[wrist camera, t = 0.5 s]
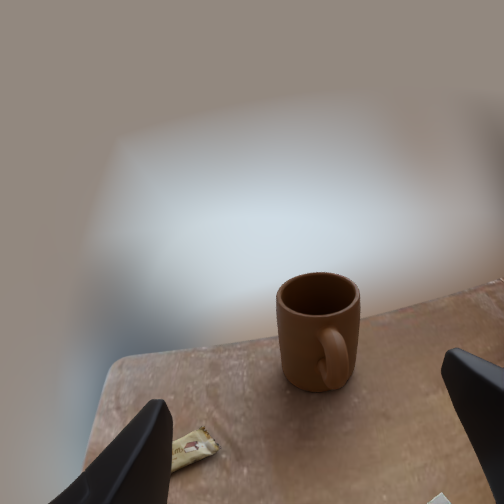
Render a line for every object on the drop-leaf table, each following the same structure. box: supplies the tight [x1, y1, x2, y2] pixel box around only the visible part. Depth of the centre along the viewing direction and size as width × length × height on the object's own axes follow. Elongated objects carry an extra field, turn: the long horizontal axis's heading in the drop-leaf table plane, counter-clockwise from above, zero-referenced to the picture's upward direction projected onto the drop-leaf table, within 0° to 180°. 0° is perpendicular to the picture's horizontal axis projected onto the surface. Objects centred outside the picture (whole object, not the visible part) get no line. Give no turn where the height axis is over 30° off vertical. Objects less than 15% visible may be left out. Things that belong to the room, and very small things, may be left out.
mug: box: [276, 272, 360, 392], centre depth 27 cm, size 12×8×9 cm, turn 1°
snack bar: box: [171, 426, 221, 473], centre depth 22 cm, size 10×2×3 cm
